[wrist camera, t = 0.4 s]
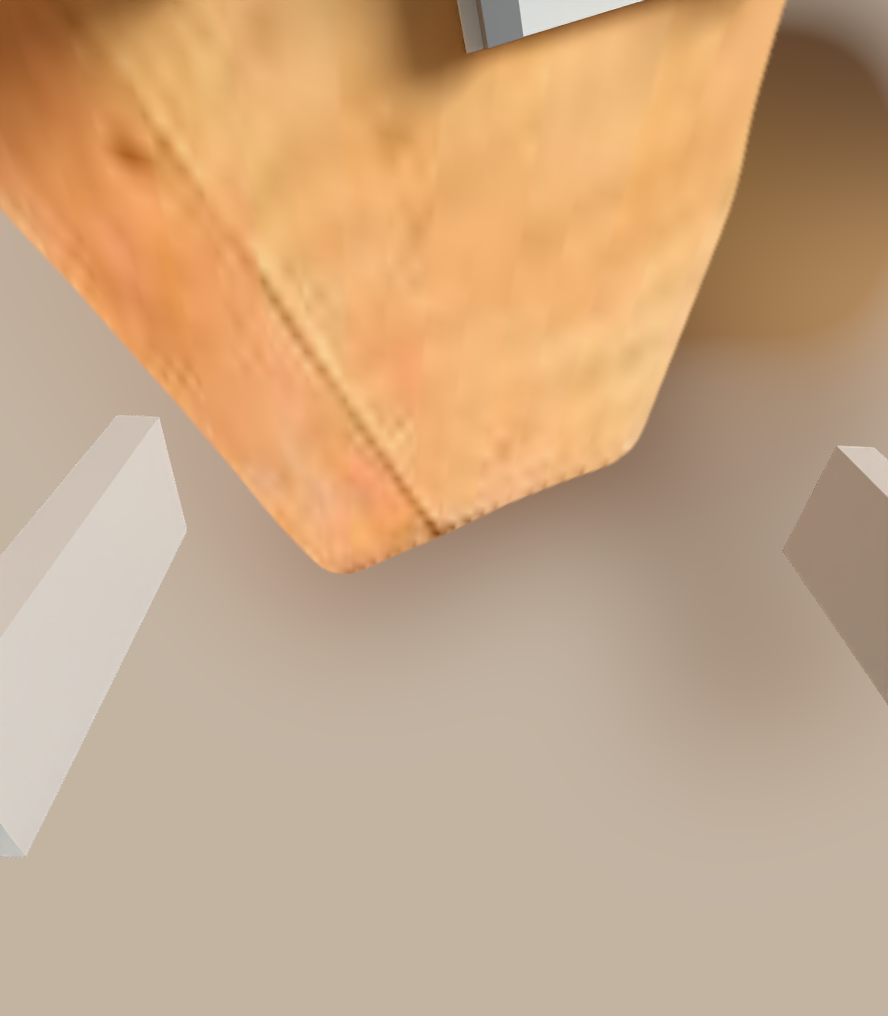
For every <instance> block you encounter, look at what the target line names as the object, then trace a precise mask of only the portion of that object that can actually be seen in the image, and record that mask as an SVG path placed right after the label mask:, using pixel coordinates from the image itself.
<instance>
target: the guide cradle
mask: <svg viewBox="0 0 888 1016" xmlns="http://www.w3.org/2000/svg"><path fill="white" fill-rule="evenodd" d="M640 1H643V0H457V4H458V10H459V16H460V21H461V27H462V32H463V38H464V43H465V49H466V54H468V53H472V52H475V51H478V50H481V49H487V48H491V47H494V46H498V45H501V44H504V43H508V42H511V41H514V40H517V39H521V38H524V36H528V35H531V34H534V33H537V32H541V31H544V30H547V29H551V28H554V27H557V26H560V25H564V24H567V23H570V22H574V21H577V20H580V19H584V18H587V17H590V16H593V15H597V14H600V13H603V12H607V11H610V10H613V9H616V8H620V7H623V6H626V5H630V4H633V3H636V2H640Z"/></svg>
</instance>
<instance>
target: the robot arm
mask: <svg viewBox="0 0 888 1016" xmlns="http://www.w3.org/2000/svg"><path fill="white" fill-rule="evenodd" d="M186 532H187V527H186V523H185V519H184V515H183V511H182V508H181V503H180V499H179V495H178V491H177V487H176V483H175V480H174V475H173V471H172V467H171V463H170V459H169V455H168V451H167V447H166V443H165V439H164V435H163V431H162V427H161V423H160V418H159V417H156V416H133V415H117V416H116V417H115V418H114V419H113V420H112V422H111V423H110V424H109V425H108V426H107V428H106V429H105V430H104V431H103V433H102V434H101V435H100V436H99V437H98V439H97V440H96V441H95V442H94V443H93V445H92V446H91V447H90V448H89V449H88V451H87V452H86V453H85V454H84V455H83V457H82V458H81V459H80V460H79V461H78V463H77V464H76V465H75V466H74V467H73V469H72V470H71V471H70V472H69V473H68V475H67V476H66V477H65V478H64V479H63V481H62V482H61V483H60V484H59V485H58V487H57V488H56V489H55V490H54V491H53V493H52V494H51V495H50V496H49V498H48V499H47V500H46V501H45V502H44V503H43V505H42V506H41V507H40V509H38V511H37V512H36V513H35V514H34V515H33V517H32V518H31V519H30V520H29V521H28V523H27V524H26V525H25V526H24V527H23V529H22V530H21V531H20V532H19V534H18V535H17V536H16V537H15V538H14V539H13V541H12V542H11V543H10V544H9V546H8V547H7V548H6V549H5V550H4V551H3V553H2V554H1V555H0V857H25V856H26V855H27V853H28V851H29V849H30V847H31V845H32V843H33V841H34V839H35V837H36V835H37V833H38V831H39V829H40V827H41V825H42V823H43V821H44V819H45V817H46V815H47V813H48V811H49V809H50V807H51V805H52V803H53V801H54V799H55V797H56V795H57V793H58V790H59V789H60V787H61V785H62V782H63V780H64V778H65V776H66V774H67V772H68V770H69V768H70V766H71V764H72V762H73V760H74V758H75V756H76V754H77V752H78V750H79V748H80V746H81V744H82V742H83V740H84V738H85V736H86V734H87V732H88V730H89V728H90V726H91V724H92V722H93V720H94V718H95V716H96V714H97V711H98V710H99V708H100V706H101V704H102V702H103V699H104V698H105V696H106V694H107V691H108V690H109V687H110V685H111V683H112V681H113V679H114V677H115V675H116V673H117V671H118V669H119V667H120V665H121V663H122V661H123V659H124V657H125V655H126V653H127V651H128V649H129V647H130V645H131V643H132V641H133V639H134V637H135V635H136V633H137V631H138V629H139V627H140V625H141V623H142V621H143V619H144V617H145V615H146V613H147V611H148V609H149V607H150V605H151V603H152V601H153V599H154V597H155V595H156V593H157V590H158V588H159V587H160V584H161V582H162V580H163V578H164V576H165V574H166V572H167V570H168V568H169V566H170V564H171V562H172V560H173V558H174V556H175V554H176V552H177V550H178V548H179V546H180V544H181V542H182V540H183V538H184V536H185V534H186ZM783 552H784V554H785V555H786V557H787V558H788V560H789V561H790V563H791V564H792V566H793V567H794V568H795V570H796V571H797V573H798V574H799V576H800V577H801V579H802V580H803V582H804V583H805V585H806V586H807V587H808V589H809V590H810V592H811V593H812V595H813V596H814V598H815V599H816V601H817V602H818V603H819V605H820V606H821V608H822V609H823V611H824V612H825V614H826V615H827V617H828V618H829V620H830V621H831V622H832V624H833V625H834V627H835V628H836V630H837V631H838V633H839V634H840V636H841V637H842V639H843V640H844V641H845V643H846V644H847V646H848V647H849V649H850V650H851V652H852V653H853V655H854V656H855V657H856V659H857V660H858V662H859V663H860V665H861V666H862V668H863V669H864V671H865V672H866V674H867V675H868V676H869V678H870V679H871V681H872V682H873V684H874V685H875V686H876V688H877V690H878V691H879V692H880V694H881V695H882V697H883V698H884V700H885V701H886V703H887V704H888V460H887V459H886V458H885V457H884V456H883V455H882V454H881V453H879V452H878V451H877V450H876V449H875V448H874V447H856V446H836V448H835V450H834V452H833V453H832V455H831V457H830V459H829V461H828V463H827V465H826V467H825V469H824V471H823V473H822V475H821V477H820V479H819V481H818V483H817V484H816V486H815V488H814V490H813V493H812V494H811V496H810V498H809V500H808V502H807V504H806V506H805V508H804V510H803V512H802V514H801V516H800V518H799V519H798V521H797V523H796V526H795V527H794V529H793V531H792V533H791V535H790V537H789V539H788V541H787V543H786V545H785V547H784V549H783Z"/></svg>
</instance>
